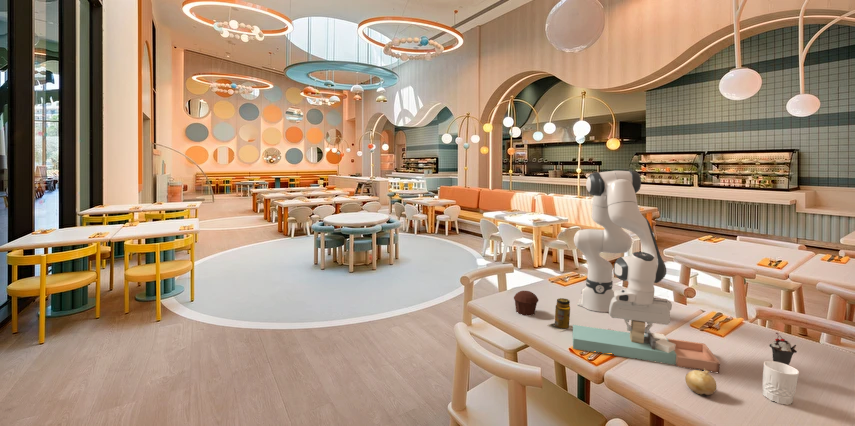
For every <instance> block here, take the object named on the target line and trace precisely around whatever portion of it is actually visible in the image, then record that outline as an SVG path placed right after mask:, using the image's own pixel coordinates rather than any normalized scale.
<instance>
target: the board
mask: <svg viewBox="0 0 855 426" xmlns="http://www.w3.org/2000/svg"><path fill="white" fill-rule="evenodd" d="M572 327H573V328H572V349H573V350H580V351H584V352H585V351H586V352H591V353H592V352H593V353H597V352H602V353H601V354H604V353H612V354H614V355H613V356H616V357H624V358H630V359H635V358H637V359H636V360H641V359H642V360H643V361H647V360H649V361H648V362H654V361H656V362H655V363H660V362H662V363H661V364H666V363H668V364H667V365H672V364H674V365H675V366H677V365H676V353H675V351H674V350H673V351H671V352H670V353H667V352H665V351H662V350H659V349H657V348H655V350H654V349H652V348H651V346H650V344H649V343H637V342H631V339H630V332H629V331H620V330H613V329H606V328H600V327H599V328H598V327H591V326H586V325H585V326H584V325H578V324H572ZM644 336H645V334H644ZM645 337H646V336H645ZM667 338H668V337H666V339H667ZM667 341H668V342H669V340H668V339H667ZM594 351H596V352H594Z"/></svg>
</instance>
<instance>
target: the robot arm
mask: <svg viewBox="0 0 855 426" xmlns="http://www.w3.org/2000/svg"><path fill="white" fill-rule="evenodd" d="M641 186H642V178H641V175H640V173H638V172H637V171H634V170H610V171H608V170H607V171H602V172H601V171H599V172H598V171H596V172H593V173H589V174H588V176H587V178H586V181H585V187H586V190H587V193H588V194H589V195H591V196H592V197H593V198H592V207H591V219H592V221H593V222H595V223H596V224H597V225H600V226H602V227H603V228H604V229H595V228H594V229H593V228H583V229H578V230H577V231H576V232H575V234H574V235H573V236H574V237H573V244H574V245H575V247H576V249H578V251H580V252H581V253H582V254H583V256H584V257H585V260H586V263H587V277H586V280H585V285H586V286H585V287H584V288H583V289H581V290H580V291H581V292H580V294H581V296H580V297H579V300H578V301H577V303H576V304H577V306H580V307H583V308H584V309H587V310H590V311H593V312H598V313H599V312H600V313H608V314H609V316H610V317H611V318H612V319H621V320H624V323H625V325H626V332H630V331H632V326H631V324H629V322H630V321H631V320H634V321H642V322H645V323H647V325H645V332H644V334H645V333H648V330H650V329H651V328H652V327H653V324H659V325H666V326H667V325H669V324H671V311H672V308H673V303H672V302H671V301H670V300H668V299H667V298H660V297H659V298H658V297H655V286H654V285H655V284H658V283H660V282H661V281H662V280H663V279H664V278H665V277H666V275H667V265H666V264H665V261H664V259H663V258H662V255H661V253H660V250H659V248H658V244H657V241H656V237H655V235H654V232H653V229H652V226H651V223H650V221H649V219H648V218H646V217H645V216H644V215H643V214H642V213H641V210H640V209H639V205H638V199H637V193H638V192H639V191H640V189H641ZM624 229H625V230H626V231H627V230H628V231H630V232H631V233H633V234H635V235H636V236H637V237H638V238H639V240H640V244H641V248H642V250H643V251H635V252H633V253H631V255H628V256H620V257H618V258H617V259H616V260H615V261H614V265H612V263H611V262H610V261H609V260H607V259H605V258H603V257H602V256H601V255H600V253H607V254H609V253H610V254H623V253H628V252H629V250H631V248H632V245H633V240H632V238H631V235H630V234H629V233H627V232H626V231H625V230H624ZM613 274H614V275H615V277H616V278H618V280H620V281H624V282H627V284H628V285H627V288H623V289H622V288H621V289H615V290H613V285H614V284H613V283H614V282H613Z"/></svg>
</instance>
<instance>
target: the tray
mask: <svg viewBox="0 0 855 426" xmlns="http://www.w3.org/2000/svg"><path fill="white" fill-rule="evenodd" d="M666 338H667V339H668V340H669V342H671V343H674V344H676V347H675V350H674V351H675V353H676V365H675V366H676V367H677V366H679V367H678V368H683V367H685V368H684V369H689V368H691V369H690V370H696V369H700V370H699V371H702V370H704V368H705V370H706V371H712V372H711V373H714V372H718V373H717V374H720V371H721V363H720V360H719V359H718V358H717V357H716V356H715V354H714V353H713V352H712V351H711V349H710V348H709V347H708V345H707V344H706V343H705V342H703V343H702V342H695V341H690V340H681V339H675V338H668V337H666Z"/></svg>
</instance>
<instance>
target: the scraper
mask: <svg viewBox="0 0 855 426" xmlns="http://www.w3.org/2000/svg"><path fill="white" fill-rule="evenodd" d="M630 325H631V326H632V331H629V333H630V339H631V342H637V343H649V344H650V346H651V348H652V349H654V350H655V345H656V341H655V339H654V337H653V336H652V334H651V333H652V332H651V330H650V329H649V330H648V333H644V332H645V327H646V322H642V321H634V320H630ZM644 335H645V336H646V337H645V336H644Z"/></svg>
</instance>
